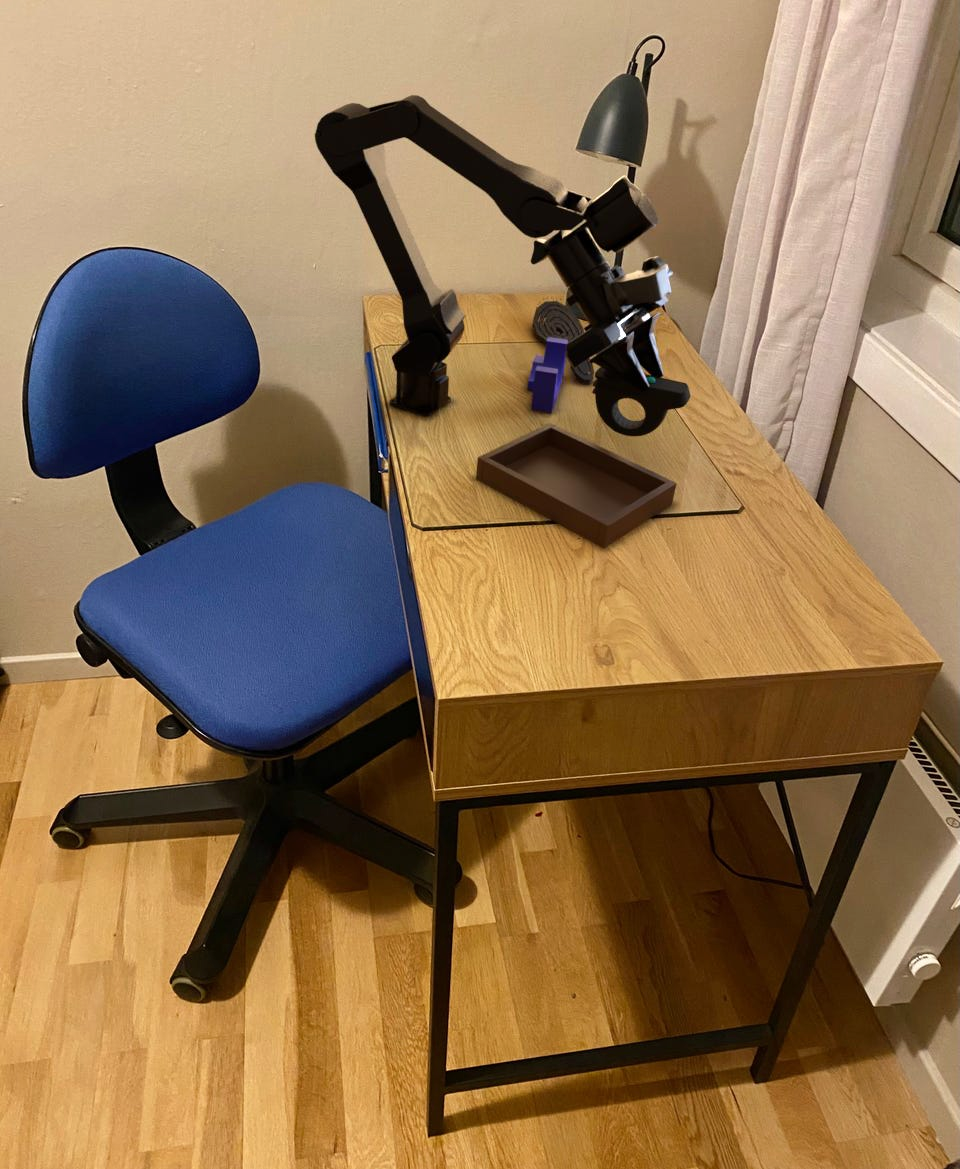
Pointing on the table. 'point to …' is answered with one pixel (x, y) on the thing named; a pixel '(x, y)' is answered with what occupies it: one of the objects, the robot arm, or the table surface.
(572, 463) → the tray
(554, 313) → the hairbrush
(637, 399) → the controller
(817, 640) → the table surface
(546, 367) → the purple stepped block
